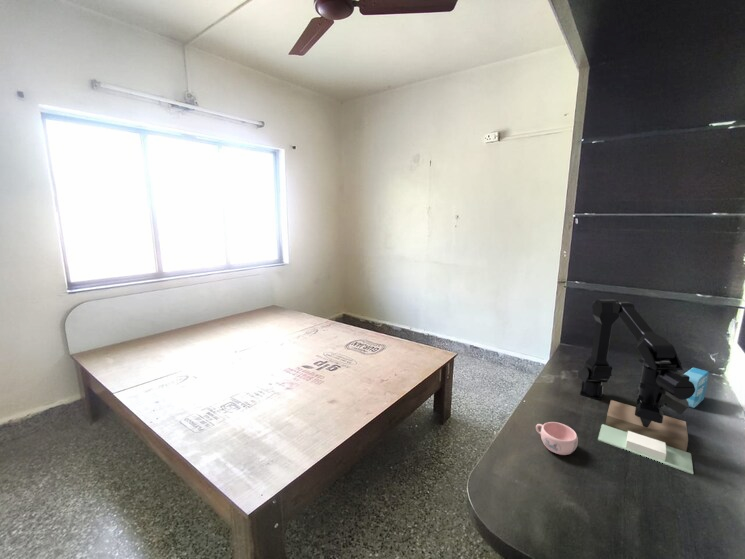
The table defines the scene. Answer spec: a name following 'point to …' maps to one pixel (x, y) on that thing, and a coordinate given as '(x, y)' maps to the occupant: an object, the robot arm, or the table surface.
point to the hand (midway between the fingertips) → (645, 426)
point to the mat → (672, 459)
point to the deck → (666, 431)
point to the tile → (646, 445)
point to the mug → (558, 437)
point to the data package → (697, 385)
